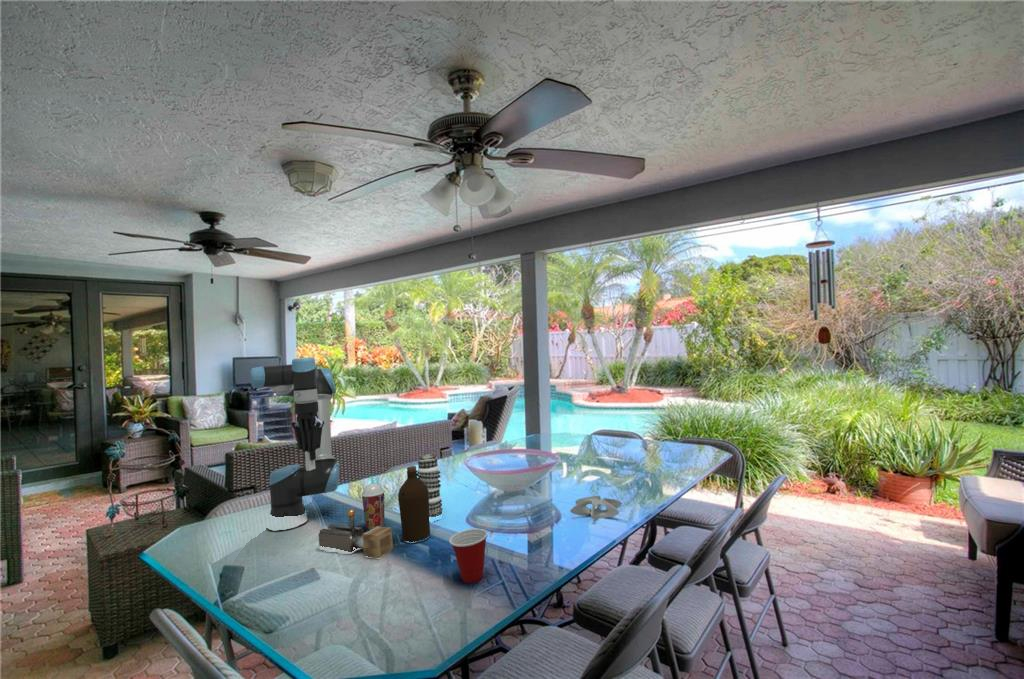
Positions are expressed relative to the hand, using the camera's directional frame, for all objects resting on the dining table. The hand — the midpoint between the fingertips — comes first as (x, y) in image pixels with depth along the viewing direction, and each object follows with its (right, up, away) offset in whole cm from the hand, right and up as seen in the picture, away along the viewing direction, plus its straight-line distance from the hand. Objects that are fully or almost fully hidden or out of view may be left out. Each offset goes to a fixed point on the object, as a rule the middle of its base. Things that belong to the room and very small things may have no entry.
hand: (310, 469), depth 160 cm
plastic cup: (+59, -22, -31) cm, 70 cm away
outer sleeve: (+12, -27, -2) cm, 29 cm away
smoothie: (+18, -27, +14) cm, 36 cm away
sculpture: (+101, -20, +10) cm, 104 cm away
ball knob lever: (+21, -24, -7) cm, 33 cm away
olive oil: (+37, -25, +2) cm, 44 cm away
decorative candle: (+39, -26, +21) cm, 51 cm away
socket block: (+26, -25, -9) cm, 38 cm away
